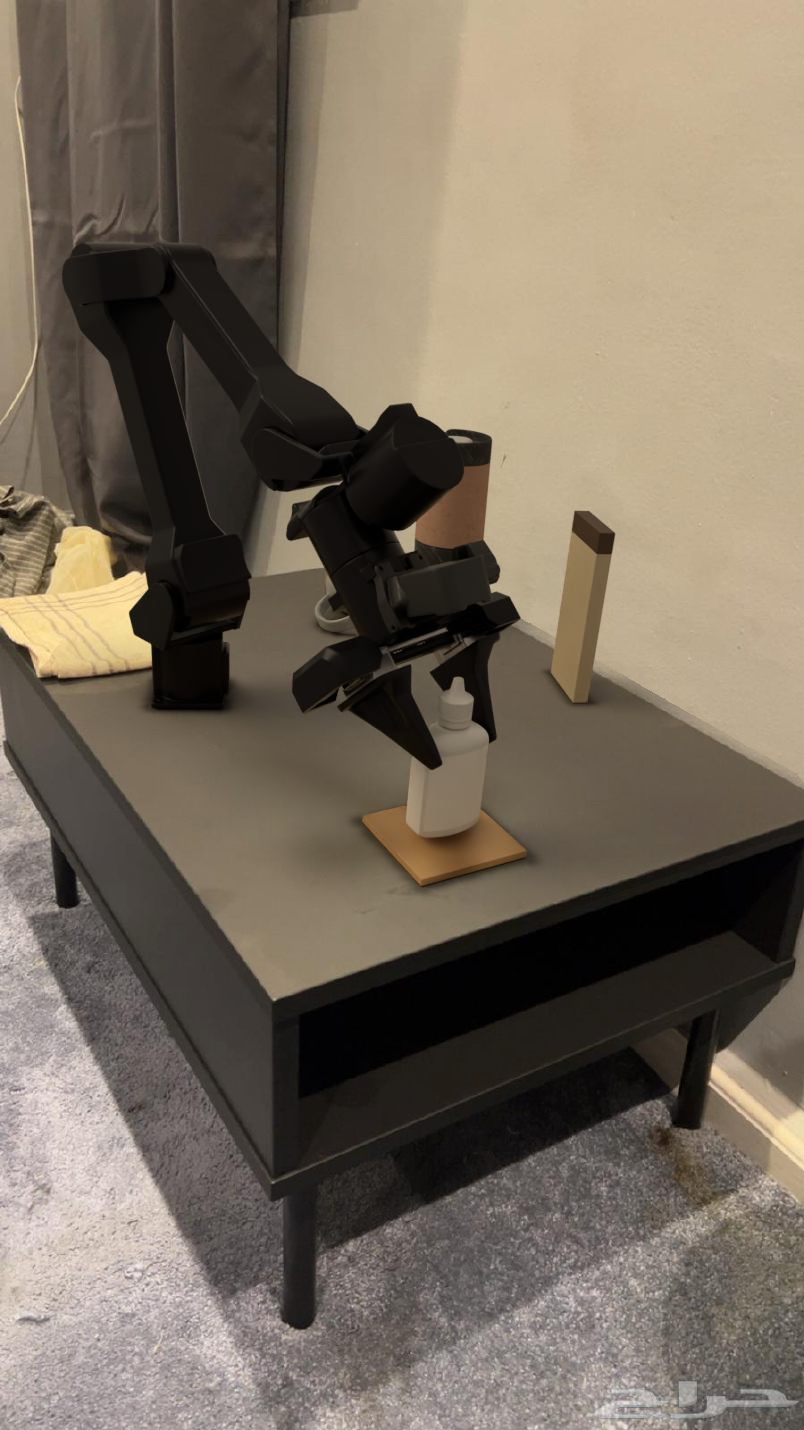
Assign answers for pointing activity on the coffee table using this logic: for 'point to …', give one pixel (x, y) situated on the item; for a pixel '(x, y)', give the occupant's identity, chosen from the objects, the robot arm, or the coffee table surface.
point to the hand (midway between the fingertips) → (464, 754)
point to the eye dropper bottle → (450, 770)
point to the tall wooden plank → (582, 604)
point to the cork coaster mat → (443, 846)
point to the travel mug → (458, 503)
